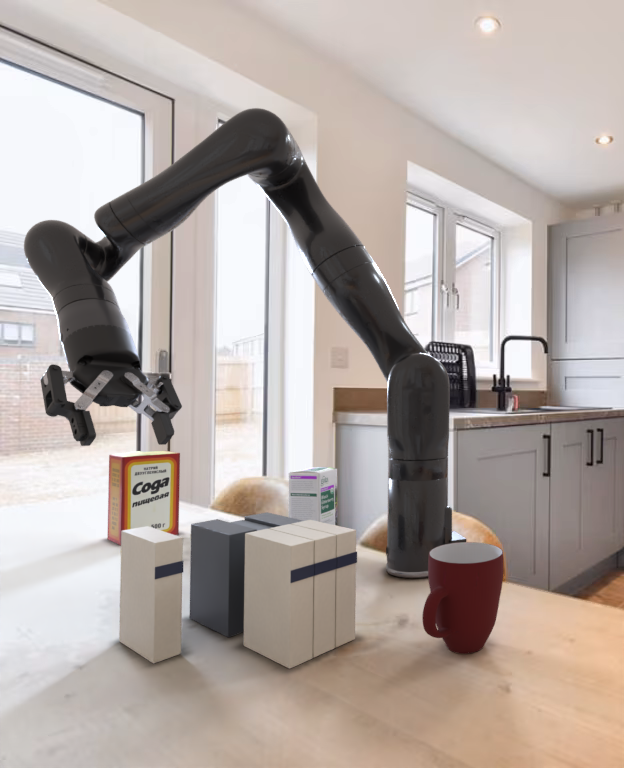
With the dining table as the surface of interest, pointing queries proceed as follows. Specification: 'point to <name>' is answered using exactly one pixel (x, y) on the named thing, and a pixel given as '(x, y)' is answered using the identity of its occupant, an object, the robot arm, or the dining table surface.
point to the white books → (299, 590)
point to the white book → (151, 592)
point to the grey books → (223, 570)
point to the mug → (463, 594)
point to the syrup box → (314, 495)
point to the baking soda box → (143, 492)
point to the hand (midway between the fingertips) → (129, 441)
